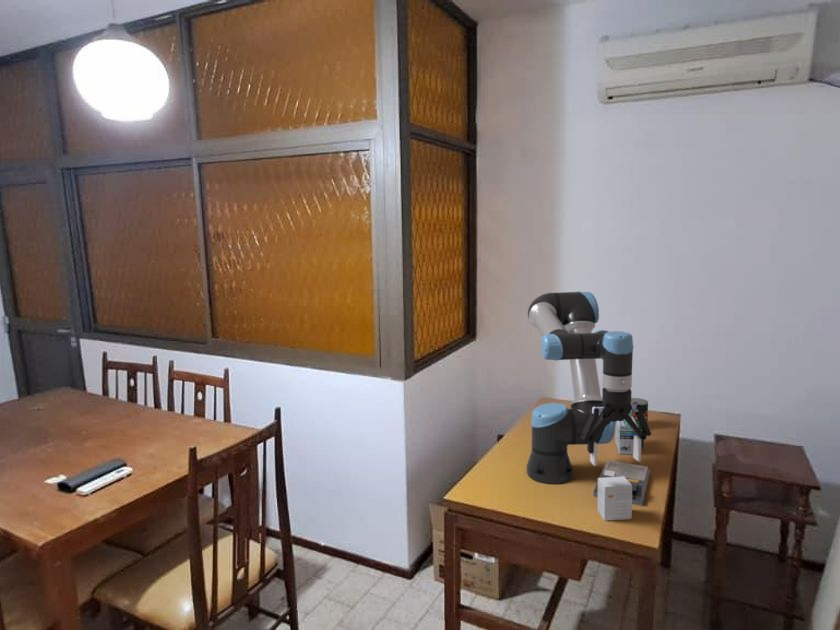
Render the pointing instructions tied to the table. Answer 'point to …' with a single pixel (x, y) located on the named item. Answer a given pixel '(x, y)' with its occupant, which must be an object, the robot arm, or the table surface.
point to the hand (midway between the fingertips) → (615, 461)
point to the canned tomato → (644, 410)
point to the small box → (614, 498)
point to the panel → (629, 473)
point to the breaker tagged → (634, 484)
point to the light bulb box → (624, 437)
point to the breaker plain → (609, 473)
